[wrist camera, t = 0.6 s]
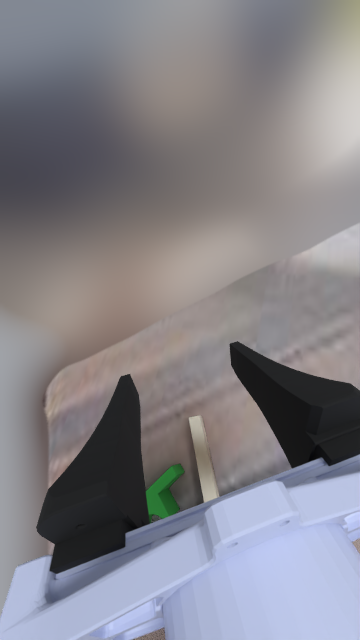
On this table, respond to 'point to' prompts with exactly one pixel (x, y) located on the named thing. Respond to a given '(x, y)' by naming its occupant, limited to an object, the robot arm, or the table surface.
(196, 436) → the guide rails
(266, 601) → the robot arm
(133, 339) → the table surface
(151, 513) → the pipe clamp
